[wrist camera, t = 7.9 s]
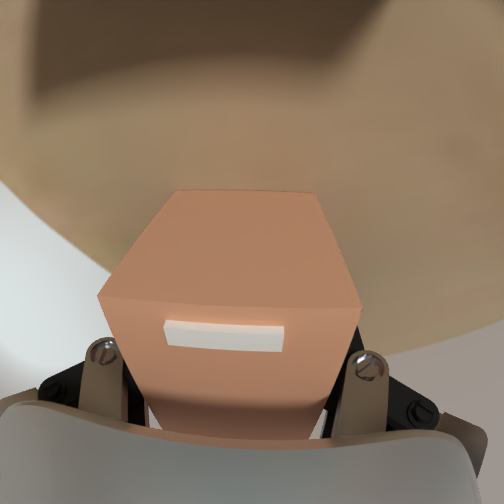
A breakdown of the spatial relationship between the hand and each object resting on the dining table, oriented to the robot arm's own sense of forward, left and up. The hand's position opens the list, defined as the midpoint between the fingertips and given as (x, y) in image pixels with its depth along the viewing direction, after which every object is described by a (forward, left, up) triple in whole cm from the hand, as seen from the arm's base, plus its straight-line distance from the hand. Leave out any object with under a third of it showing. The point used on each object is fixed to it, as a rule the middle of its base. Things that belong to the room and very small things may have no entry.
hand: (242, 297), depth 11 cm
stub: (0, 0, -1) cm, 1 cm away
